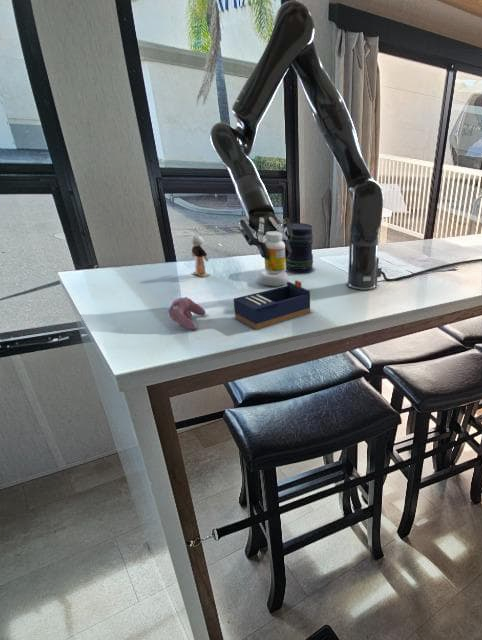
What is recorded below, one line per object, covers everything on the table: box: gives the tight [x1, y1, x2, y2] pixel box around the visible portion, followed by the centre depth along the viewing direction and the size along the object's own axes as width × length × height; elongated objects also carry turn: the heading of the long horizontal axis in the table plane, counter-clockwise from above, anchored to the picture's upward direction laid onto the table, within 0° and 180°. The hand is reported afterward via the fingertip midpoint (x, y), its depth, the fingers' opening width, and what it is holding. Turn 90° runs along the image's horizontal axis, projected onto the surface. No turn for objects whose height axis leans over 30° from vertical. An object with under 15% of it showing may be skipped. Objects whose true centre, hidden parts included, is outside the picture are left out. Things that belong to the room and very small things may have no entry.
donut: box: [256, 269, 289, 287], centre depth 136 cm, size 10×4×10 cm
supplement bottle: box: [263, 231, 286, 273], centre depth 110 cm, size 5×5×10 cm
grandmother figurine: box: [190, 234, 210, 278], centre depth 133 cm, size 8×4×13 cm, turn 68°
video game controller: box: [167, 296, 206, 330], centre depth 105 cm, size 10×5×7 cm, turn 5°
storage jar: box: [285, 222, 314, 275], centre depth 147 cm, size 10×10×15 cm
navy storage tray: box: [232, 279, 311, 330], centre depth 113 cm, size 18×9×8 cm, turn 142°
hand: (278, 256), depth 109 cm, fingers closed on supplement bottle, 5 cm apart
